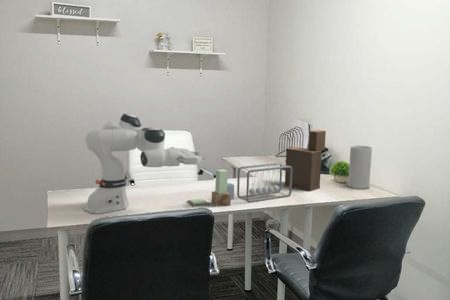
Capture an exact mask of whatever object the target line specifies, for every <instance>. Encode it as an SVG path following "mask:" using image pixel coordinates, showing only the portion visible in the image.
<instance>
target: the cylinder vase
mask: <svg viewBox="0 0 450 300" xmlns="http://www.w3.org/2000/svg"><path fill="white" fill-rule="evenodd" d="M372 152H373V147H372V146H368V145H351V146H350V151H349V153H350V154H349V168H348V179H347V185H348V187H349V188H351V189H355V190H366V189H368V188H370V179H371V165H372Z"/></svg>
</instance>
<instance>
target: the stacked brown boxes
mask: <svg viewBox="0 0 450 300" xmlns="http://www.w3.org/2000/svg"><path fill="white" fill-rule="evenodd" d="M326 132H327V131H326V130H321V129H316V130H309V133H308V147H307V148H305V147H300V146H299V147H298V146H292V147H288V148H286V150H285V151H286V152H285V165H286V166H291V167H292V188H295V189H300V190H304V191H306V192H307V191H308V192H314V191H317V190H319V189H321V185H320V184H321V170H322V154H323V153H322V152H323V151H325V150H326ZM284 171H285V172H284V174H285V175H284V186H287V187H290V168H284Z"/></svg>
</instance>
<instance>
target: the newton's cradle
mask: <svg viewBox="0 0 450 300" xmlns="http://www.w3.org/2000/svg"><path fill="white" fill-rule="evenodd" d="M286 168H290V186H289V192H288V194H286V193H282V192H281V191H282V179H283V177H282V176H283V169H284V170H285V169H286ZM243 169H244V170H246V171H247V174H246V193H245V194H246V195H240V182H241V181H240V175H241V174H240V173H241V170H243ZM275 170H278V171H277V172H278V174H279V176H277V179H276V180H278V178H279V186H278V185H277V183H278V182H277V181H274V182H275V185H273V186H272V185H269V186H266V184H267V183H264V184H263V185H264V186H262V187H261V186H260V183H261V182H262V179H260V181H257V184H258V187H256V189H255V187H254V186H255V185H254V184H251V187H252V188H250V173H255V175H254V177H256V176H257V175H256V174H257V173H259V172H262V173H261V175H260V177H262V174H263V176H265V174H264V171H267V172H266V173H267V174H269V171H273V174H272V175H271V178H273V176H274V174H276V171H275ZM267 178H269V181H270V184H272V182H273V181H272V180H271V178H270V175H269V176H268V177H266V180H265V181H267ZM236 181H237V183H236V186H237V188H236V189H237V191H236V196H237V198H239V199H243V200H246V202H247V203H250V204H251V203H255V202H262V201H269V200H275V199H283V198H288V197H290V196H291V194H292V188H293V187H292V167H291V166H286V164H282V162H276V163H274V162H273V163H264V164H255V165H245V166H240V167H239V168H238V169H237V179H236ZM255 181H256V179H254V182H253V183H255ZM278 193H279V194H280V195H277V196H271V197H264V198H258V199H251V200H249V198H252V197H257V196H265V195H272V194H278Z"/></svg>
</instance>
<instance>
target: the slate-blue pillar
mask: <svg viewBox="0 0 450 300" xmlns="http://www.w3.org/2000/svg"><path fill="white" fill-rule="evenodd" d="M227 192H228V193H229V194H231V201H232V200H235V185H234V184H233V183H232V182H229V183H228V182H227Z"/></svg>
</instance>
